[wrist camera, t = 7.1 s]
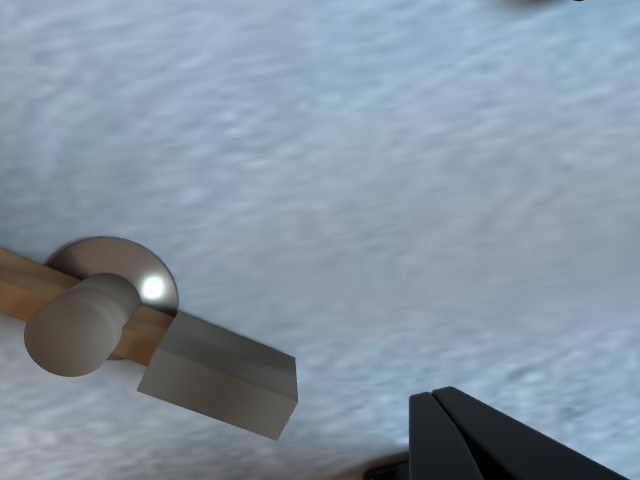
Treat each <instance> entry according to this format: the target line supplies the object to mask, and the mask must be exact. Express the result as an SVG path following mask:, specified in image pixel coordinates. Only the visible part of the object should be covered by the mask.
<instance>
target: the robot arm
mask: <svg viewBox="0 0 640 480" xmlns="http://www.w3.org/2000/svg"><path fill="white" fill-rule="evenodd" d="M362 479H363V480H371V479H374V480H630V479H628V478H626V477H624V476H622V475H620V474H618V473H616V472H614V471H613V470H611V469H609V468H607V467H605V466H603V465H601V464H599V463H597V462H595V461H593V460H592V459H590V458H588V457H586V456H584V455H582V454H580V453H578V452H576V451H574V450H573V449H571V448H569V447H567V446H565V445H563V444H561V443H559V442H557V441H555V440H553V439H552V438H550V437H548V436H546V435H544V434H542V433H540V432H538V431H536V430H534V429H533V428H531V427H529V426H527V425H525V424H523V423H521V422H519V421H517V420H515V419H513V418H512V417H510V416H508V415H506V414H504V413H502V412H500V411H498V410H496V409H494V408H493V407H491V406H489V405H487V404H485V403H483V402H481V401H479V400H477V399H475V398H473V397H472V396H470V395H468V394H466V393H464V392H462V391H460V390H458V389H456V388H454V387H451V386H448V387H444V388H440V389H436V390H433V391H432V392H431V393H430V392H423V393H419V394H415V395H411V396H410V397H409V460H408V461H404V462H400V463H396V464H391V465H387V466H383V467H379V468H375V469H371V470H368V471H366V472H365V473H364V474H363V478H362Z"/></svg>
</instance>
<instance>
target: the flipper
mask: <svg viewBox="0 0 640 480" xmlns="http://www.w3.org/2000/svg"><path fill="white" fill-rule="evenodd" d="M0 312H2V313H5V314H8V315H10V316H13V317H16V318H19V319H21V320H24V321H27V324H26V327H25V331H24V342H25V346H26V349H27V351H28V353H29V355H30V356H31V358H32V359H33V360H34V361H35V362H36V363H37V364H38V365H39V366H40V367H42V368H43V369H45V370H46V371H48V372H50V373H53V374H56V375H59V376H65V377H77V376H82V375H86V374H88V373H91V372H93V371H94V370H96V369H97V368H98V367H100V366H101V365H102V364H103V362H104V361H105V360H106V359H107V358H108V356H109V355H110V354H111V353H113V354H116V355H118V356H121V357H124V358H127V359H129V360H132V361H135V362H137V363H140V364H143V365H145V366H148V367H147V369H146V372H145V374H144V376H143V378H142V380H141V382H140V385H139V387H138V389H137V391H139V392H141V393H144V394H147V395H150V396H153V397H155V398H158V399H161V400H164V401H167V402H169V403H172V404H175V405H178V406H181V407H184V408H186V409H189V410H192V411H195V412H198V413H200V414H203V415H206V416H209V417H212V418H214V419H217V420H220V421H223V422H226V423H228V424H231V425H234V426H237V427H240V428H242V429H245V430H248V431H251V432H254V433H256V434H259V435H262V436H265V437H268V438H270V439H273V440H276V441H277V440H278V438H279V436H280V434H281V433H282V431H283V429H284V427H285V425H286V423H287V422H288V420H289V418H290V416H291V414H292V412H293V410H294V409H295V407H296V405H297V403H298V392H297V378H296V364H295V357H292V356H290V355H287V354H285V353H282V352H280V351H277V350H275V349H272V348H270V347H267V346H265V345H262V344H260V343H258V342H255V341H253V340H250V339H248V338H245V337H243V336H240V335H238V334H235V333H233V332H230V331H228V330H225V329H223V328H220V327H218V326H215V325H213V324H210V323H208V322H205V321H203V320H201V319H198V318H196V317H193V316H191V315H188V314H186V313H183V312H181V311H179V312H178V313H177V315H176V317H175V318H174V317H172V316H169V315H167V314H164V313H162V312H159V311H157V310H154V309H152V308H149V307H147V306H144V305H142V301H141V297H140V295H139V293H138V291H137V289H136V288H135V286H134V285H133V284H132V283H131V282H129V281H128V280H127V279H125V278H124V277H121V276H119V275H116V274H112V273H97V274H93V275H90V276H88V277H86V278H85V279H83V280H79V279H77V278H74V277H72V276H69V275H67V274H64V273H62V272H59V271H56V270H54V269H51V268H49V267H46V266H44V265H41V264H39V263H36V262H34V261H31V260H29V259H26V258H24V257H21V256H19V255H16V254H14V253H11V252H9V251H6V250H4V249H1V248H0Z"/></svg>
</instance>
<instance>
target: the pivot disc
mask: <svg viewBox="0 0 640 480" xmlns="http://www.w3.org/2000/svg"><path fill="white" fill-rule="evenodd" d="M49 268H51V269H54V270H56V271H59V272H62V273H64V274H67V275H69V276H72V277H74V278H77V279H79V280H83V279H85V278H86V277H88V276H90V275H93V274H97V273H112V274H116V275H119V276H121V277H124V278H125V279H127V280H128V281H129V282H131V283H132V284H133V285H134V286H135V288H136V289H137V291H138V293H139V295H140V297H141V301H142V305H144V306H147V307H149V308H152V309H154V310H157V311H159V312H162V313H164V314H167V315H169V316H172V317H174V318H175V317H176V315H177V313H178V306H179V298H178V290H177V286H176V283H175V281H174V278H173V276H172V274H171V272H170V271H169V269H168V268H167V266H166V265H165V264H164V263H163V262H162V260H161V259H160V258H159V257H158V256H156V255H155V254H154V253H153V252H151V251H150V250H148V249H147V248H145V247H143V246H141V245H139V244H137V243H135V242H132V241H129V240H126V239H121V238H115V237H98V238H91V239H88V240H84V241H81V242H79V243H77V244H75V245H72V246H71V247H69V248H67V249H66V250H64V251H63V252H62V253H60V254H59V255H58V256H57V257H56V258H55V259H54V260H53V261H52V263H51V264H50V266H49ZM124 359H127V358H124V357H121V356H118V355H116V354H113V353H111V354H110V355H109V356H108V358H107V359H106V360H124Z"/></svg>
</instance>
